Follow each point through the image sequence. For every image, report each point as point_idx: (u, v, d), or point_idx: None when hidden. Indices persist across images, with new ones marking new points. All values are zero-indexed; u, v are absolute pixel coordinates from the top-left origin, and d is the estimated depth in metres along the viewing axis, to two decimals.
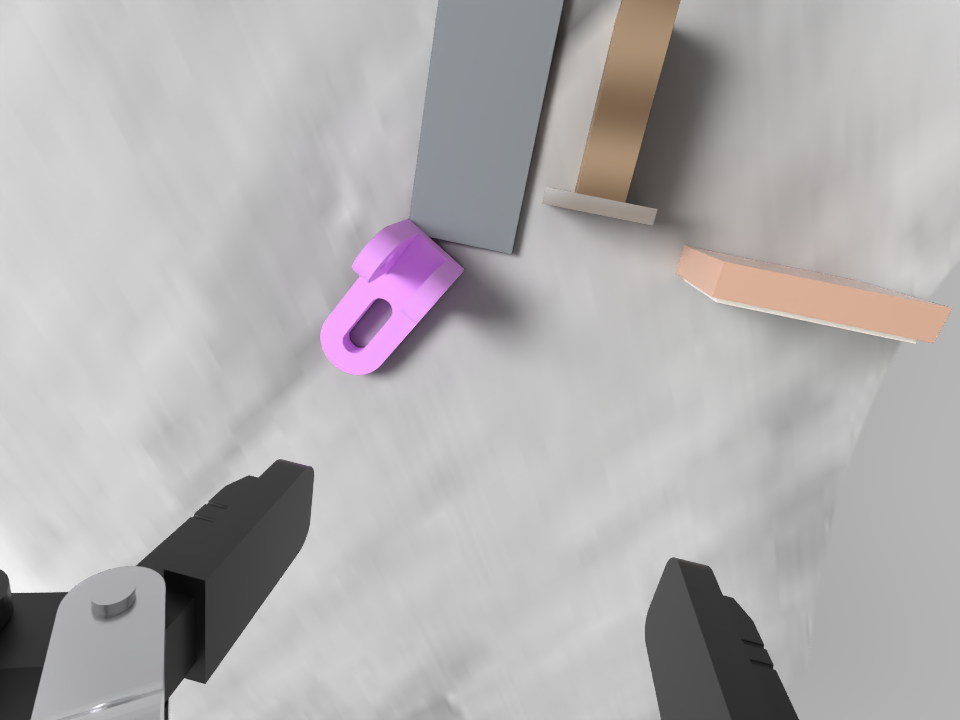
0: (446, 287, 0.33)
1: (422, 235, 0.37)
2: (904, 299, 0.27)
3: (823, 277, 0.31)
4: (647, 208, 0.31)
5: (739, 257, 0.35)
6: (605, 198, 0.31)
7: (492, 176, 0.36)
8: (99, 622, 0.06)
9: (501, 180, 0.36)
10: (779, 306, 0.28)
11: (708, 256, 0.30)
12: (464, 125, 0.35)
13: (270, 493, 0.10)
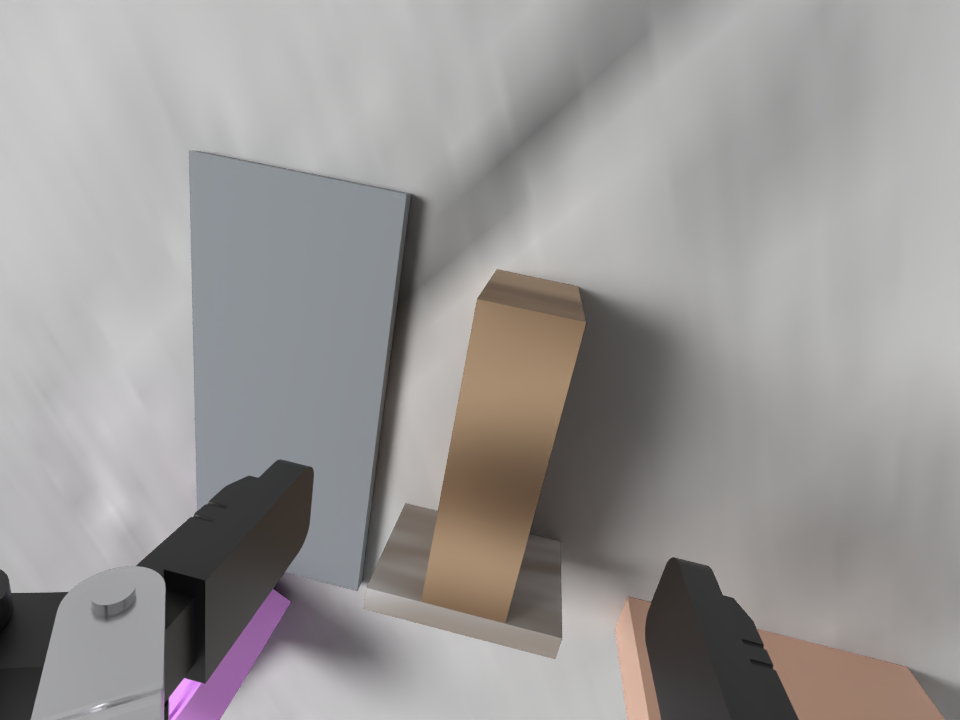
0: None
1: None
2: None
3: None
4: (544, 636, 0.17)
5: None
6: (470, 612, 0.17)
7: (314, 490, 0.22)
8: (99, 622, 0.06)
9: (330, 496, 0.22)
10: None
11: None
12: (260, 418, 0.21)
13: (270, 493, 0.10)
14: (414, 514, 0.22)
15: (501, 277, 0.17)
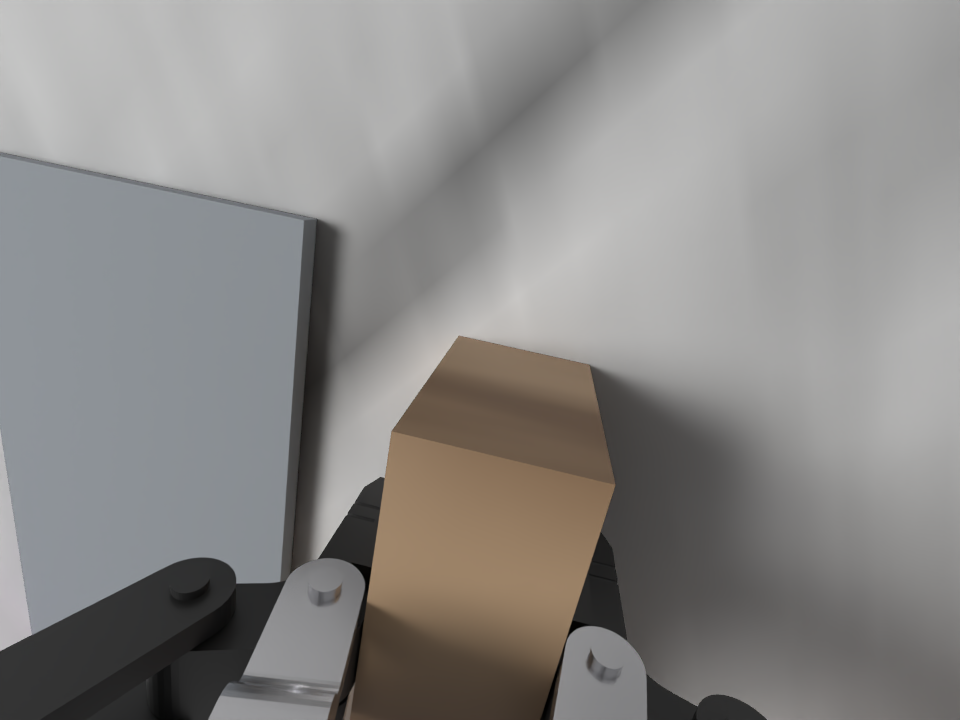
0: None
1: None
2: None
3: None
4: None
5: None
6: None
7: None
8: (322, 608, 0.07)
9: None
10: None
11: None
12: (111, 548, 0.14)
13: None
14: None
15: (461, 356, 0.10)
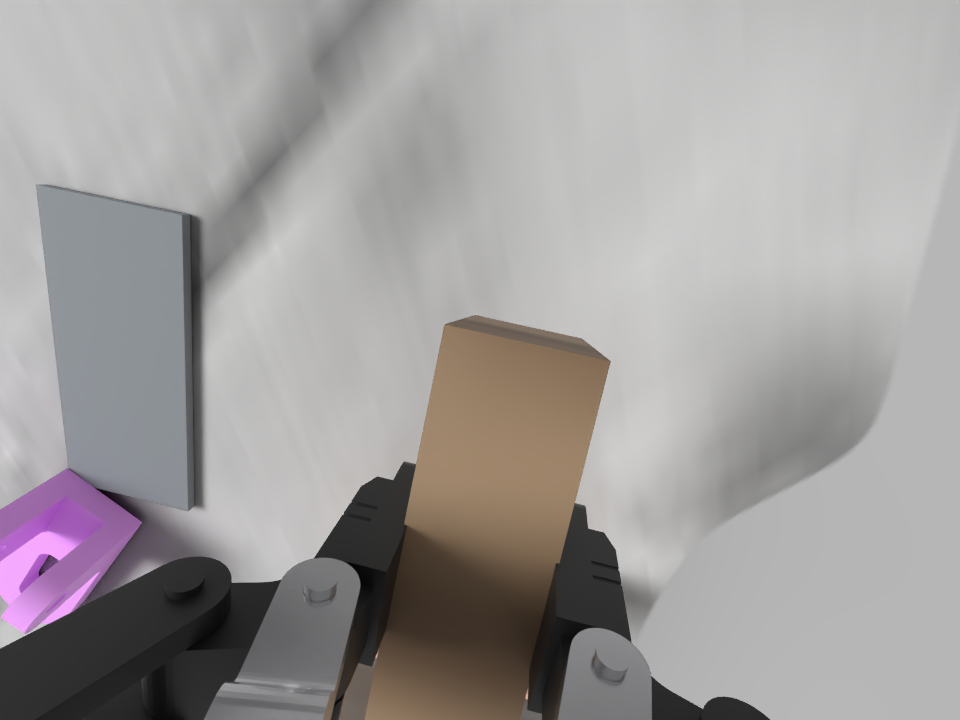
0: (55, 595, 0.27)
1: (76, 493, 0.31)
2: None
3: None
4: None
5: None
6: None
7: (148, 431, 0.30)
8: (317, 607, 0.07)
9: (159, 436, 0.30)
10: None
11: None
12: (104, 377, 0.29)
13: (409, 493, 0.10)
14: None
15: (481, 319, 0.13)
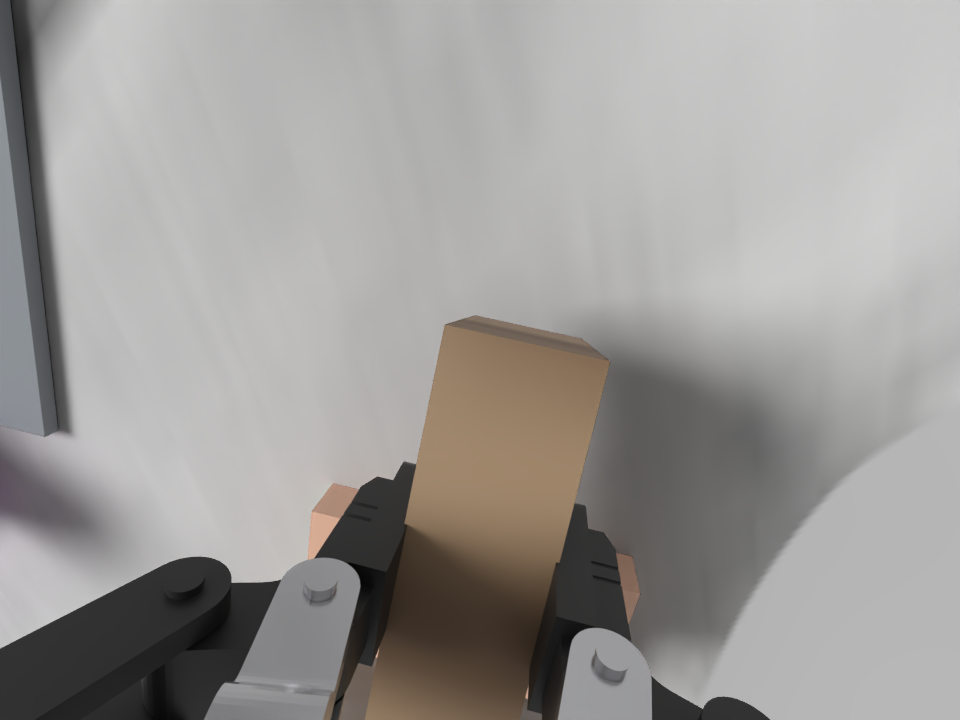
0: None
1: None
2: None
3: None
4: None
5: None
6: None
7: None
8: (317, 608, 0.07)
9: None
10: None
11: None
12: None
13: (409, 493, 0.10)
14: None
15: (481, 319, 0.13)
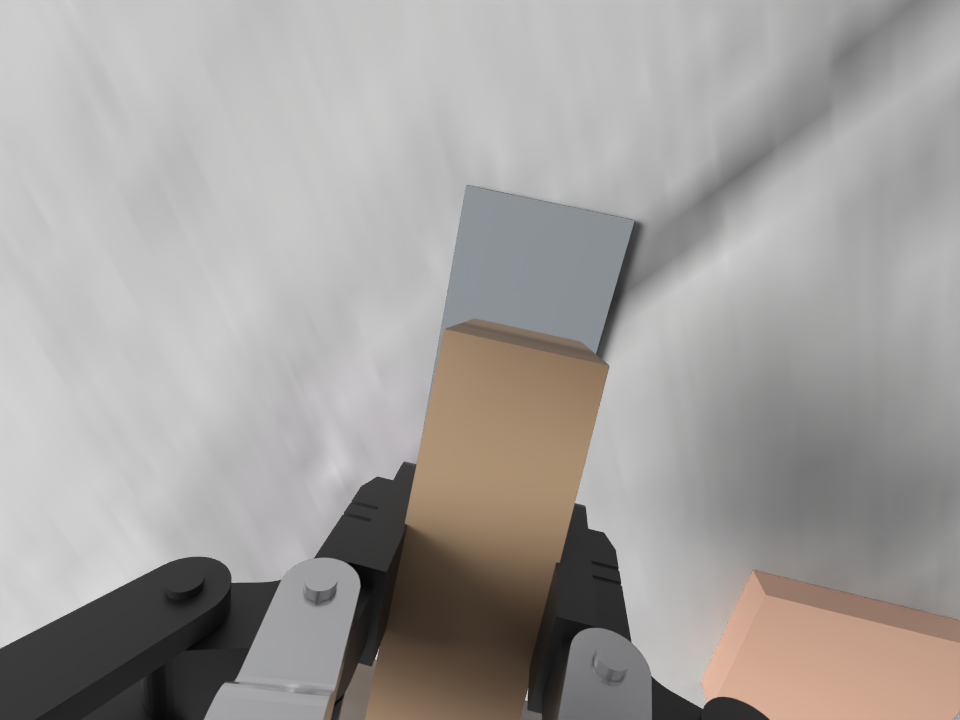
0: None
1: None
2: None
3: (869, 694, 0.28)
4: None
5: (825, 627, 0.27)
6: None
7: None
8: (318, 608, 0.07)
9: None
10: None
11: (726, 674, 0.29)
12: None
13: (409, 493, 0.10)
14: None
15: (480, 322, 0.13)
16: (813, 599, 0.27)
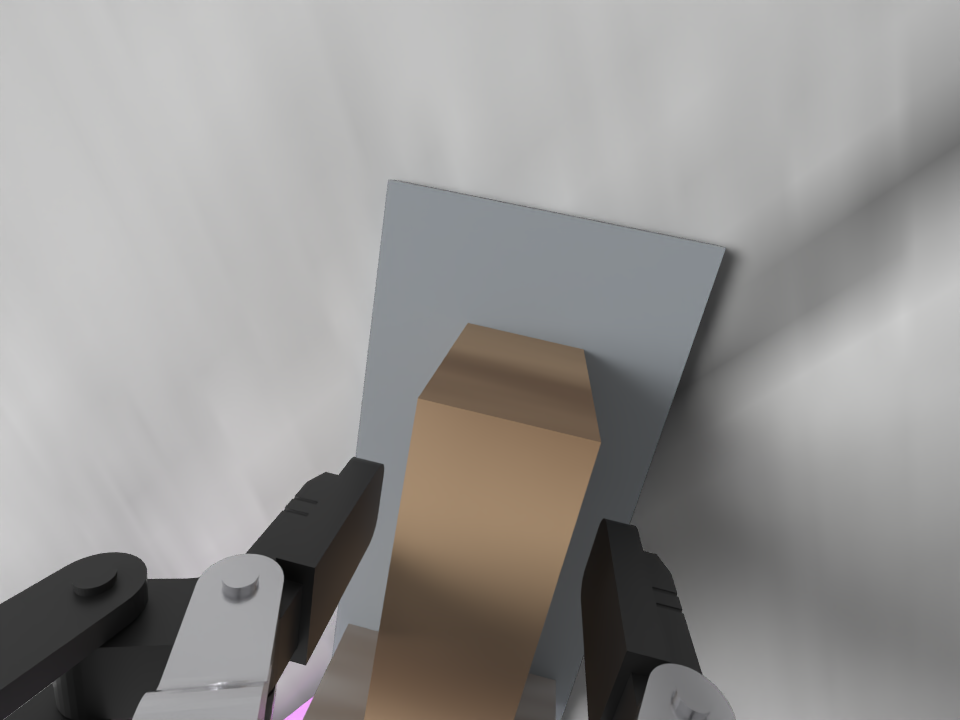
0: None
1: None
2: None
3: None
4: None
5: None
6: None
7: None
8: (234, 604, 0.07)
9: None
10: None
11: None
12: None
13: (353, 488, 0.10)
14: (358, 644, 0.16)
15: (471, 340, 0.12)
16: None
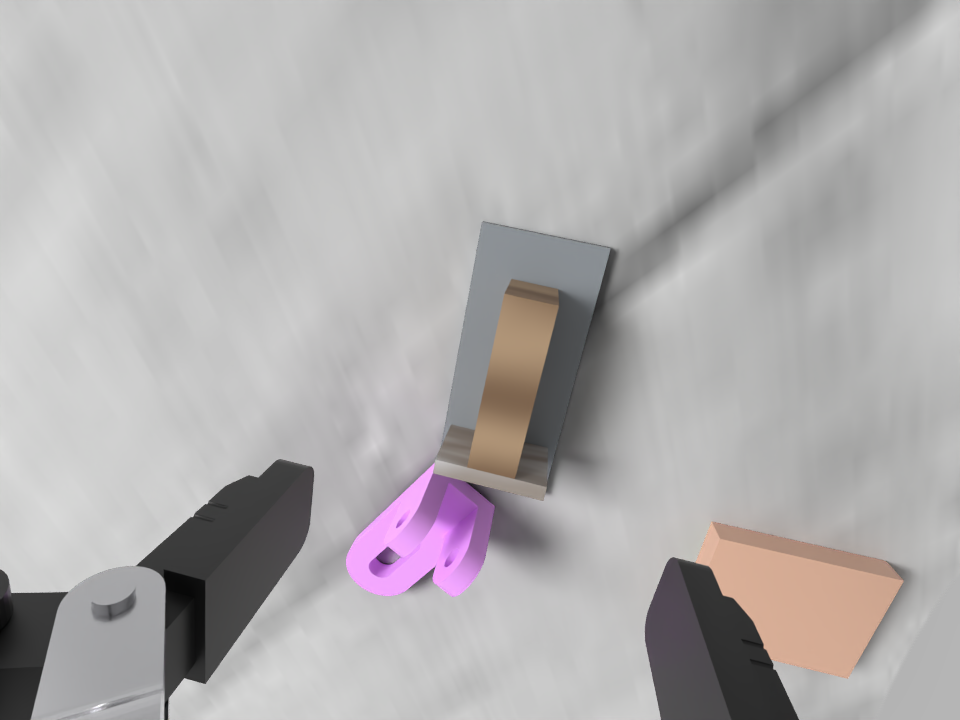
0: (481, 564, 0.32)
1: (452, 480, 0.36)
2: (813, 669, 0.36)
3: (805, 618, 0.35)
4: (536, 486, 0.30)
5: (767, 563, 0.34)
6: (494, 473, 0.31)
7: None
8: (99, 622, 0.06)
9: (534, 431, 0.35)
10: None
11: None
12: None
13: (270, 493, 0.10)
14: (457, 430, 0.35)
15: (514, 283, 0.30)
16: (758, 542, 0.34)
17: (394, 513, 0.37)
